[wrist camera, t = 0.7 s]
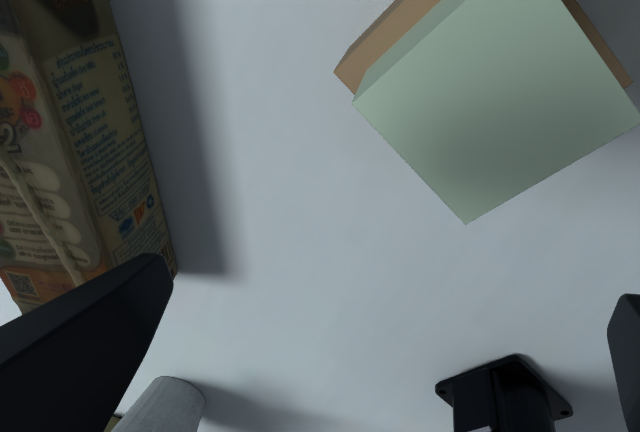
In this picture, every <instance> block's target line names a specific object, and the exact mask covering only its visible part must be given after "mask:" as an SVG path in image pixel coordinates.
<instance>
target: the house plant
mask: <svg viewBox="0 0 640 432" xmlns="http://www.w3.org/2000/svg"><path fill="white" fill-rule="evenodd" d="M204 405H205V399H204V397H203V395H202V394H201V393H200V392H199V390H198V389H196V388H195V387H194V386H193V385H191V384H189V383H187V382H186V381H183V380H180V379H176V378H173V377H167V376H163V377H158V378H156V379H155V380H154V381H153V382H152V383H151V384H150V385H149V387H148V388H147V389H146V390H145V391H144V393H143V394H142V395H141V396H140V397H139V398H138V400H137V401H136V402H135V403H134V404H133V406H132V407H131V408H130V409H129V410H128V412H127V413H126V414H125V415H124V416H123V418H122V419H121V420H120V421H119V422H118V423H117V425H116V426H115V427H114V428H113V429H112V431H111V432H197V429H198V426H199V422H200V419H201V415H202V412H203V409H204Z"/></svg>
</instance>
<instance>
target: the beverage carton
mask: <svg viewBox="0 0 640 432" xmlns="http://www.w3.org/2000/svg"><path fill="white" fill-rule="evenodd" d="M145 252H149V253H160V254H162V255H163V256H164V257H165V259H166V262H167V265H168V268H169V270H170V273H171V276H172V279H173V280H174V278H175V276H176V275H177V272H178V271H177V268H176V264H175V259H174V254H173V250H172V246H171V242H170V237H169V233H168V229H167V225H166V221H165V217H164V213H163V209H162V205H161V201H160V197H159V194H158V189H157V185H156V181H155V177H154V173H153V168H152V165H151V161H150V158H149V154H148V150H147V145H146V141H145V137H144V133H143V130H142V126H141V122H140V117H139V113H138V109H137V105H136V101H135V97H134V93H133V89H132V85H131V80H130V77H129V73H128V70H127V66H126V61H125V57H124V52H123V49H122V45H121V42H120V38H119V35H118V32H117V29H116V25H115V22H114V19H113V15H112V11H111V7H110V3H109V0H0V277H1V279H2V281H3V282H4V284H5V286H6V287H7V289H8V291H9V292H10V294H11V297H12V299H13V301H14V302H15V303H16V304H17V305H18V307H19V309H20V311H21V312H22V315H23V314H25V313H27V312H29V311H31V310H33V309H35V308H37V307H39V306H41V305H43V304H45V303H47V302H49V301H51V300H52V299H54V298H56V297H58V296H60V295H62V294H64V293H66V292H68V291H70V290H72V289H74V288H76V287H78V286H80V285H82V284H83V283H85V282H87V281H89V280H91V279H93V278H95V277H97V276H99V275H101V274H103V273H105V272H107V271H109V270H111V269H113V268H114V267H116V266H118V265H120V264H122V263H124V262H126V261H128V260H130V259H132V258H134V257H136V256H138V255H140V254H142V253H145Z"/></svg>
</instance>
